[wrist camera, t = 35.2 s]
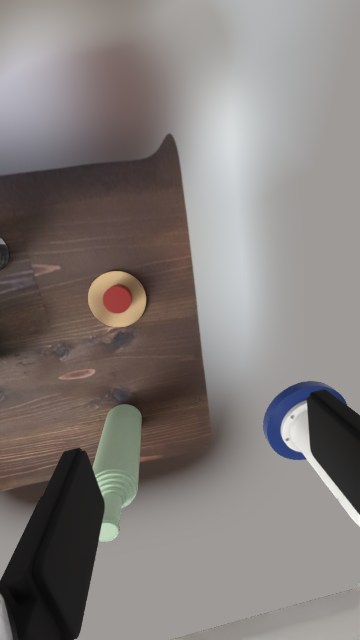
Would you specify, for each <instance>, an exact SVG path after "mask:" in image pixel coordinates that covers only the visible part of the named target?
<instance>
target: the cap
mask: <svg viewBox="0 0 360 640" xmlns="http://www.w3.org/2000/svg"><path fill="white" fill-rule="evenodd" d="M131 302H132V293H131V291H130V290H129V288H127V287H126V286H124V285H121V284H117V285H113V286H111V287H110V288H109V289H108V290H106V292H105V293H104V295H103V304H104V306H105V308H106V309H107V310H108V311H110V312H112V313H116V314H119V313H123V312H125V311H126V310H127V309H128V308H129V307H130V304H131Z"/></svg>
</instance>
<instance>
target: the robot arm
mask: <svg viewBox="0 0 360 640" xmlns="http://www.w3.org/2000/svg"><path fill="white" fill-rule="evenodd" d="M281 436H282V439H283V441H284V442H285V443H286V445H287V446H288V447H289V448H291V449H292V450H294V451H298V452H302V454H303V455H304V456H305V458H306V459H307V460H308V461H309V463H310V464H311V465H312V467H313V468H314V469H315V471H316V472H317V473H318V475H319V476H320V477H321V479H322V480H323V481H324V483H325V484H326V485H327V486H328V488H329V489H330V491H331V492H332V493H333V494H334V496H335V497H336V498H337V500H338V501H339V502H340V504H341V505H342V506H343V508H344V509H345V510H346V512H347V513H348V514H349V516H350V517H351V518H352V519H353V520H354V522H355V523H356V524H357V525H358V526H359V527H360V415H359V414H357V413H356V412H355V411H353V410H352V409H351V408H349V407H348V406H347V405H346V404H344V403H343V402H342V401H340V400H339V399H338V398H336V397H335V396H334V395H333V394H331V393H330V392H329V391H327V390H326V389H323V390H318V391H314V392H311V393H310V396H309V397H307V400H305V401H302V402H300V403H298V404H297V405H295V406H294V407H292V408H291V409H290V410H289V411H288V412H287V414H286V415H285V417H284V418H283V421H282V423H281ZM104 511H105V502H104V498H103V496H102V493H101V490H100V488H99V485H98V482H97V480H96V477H95V474H94V471H93V469H92V466H91V463H90V461H89V458H88V455H87V453H86V451H82V450H81V449H80V448H77V449H72V450H68V451H65V452H64V453H63V454H62V456H61V458H60V461H59V463H58V465H57V467H56V469H55V471H54V473H53V475H52V477H51V480H50V482H49V484H48V486H47V488H46V490H45V492H44V495H43V496H42V497H41V498H40V500H39V501H38V504H37V506H36V508H35V510H34V512H33V514H32V516H31V518H30V520H29V522H28V524H27V526H26V528H25V531H24V533H23V535H22V537H21V539H20V541H19V543H18V545H17V547H16V549H15V551H14V553H13V555H12V558H11V560H10V562H9V564H8V566H7V568H6V570H5V573H4V574H3V576H2V578H1V580H0V640H74V639H77V637H78V636H79V633H80V630H81V626H82V621H83V615H84V610H85V606H86V600H87V596H88V591H89V586H90V580H91V576H92V570H93V566H94V561H95V555H96V551H97V546H98V541H99V536H100V531H101V526H102V521H103V516H104ZM173 640H360V583H359V584H358V585H357V586H356V587H355V588H354V589H351V590H348V591H344V592H340V593H336V594H333V595H329V596H325V597H322V598H318V599H314V600H311V601H307V602H303V603H300V604H296V605H293V606H289V607H286V608H282V609H278V610H275V611H271V612H268V613H264V614H260V615H257V616H253V617H250V618H246V619H243V620H239V621H236V622H232V623H228V624H225V625H221V626H218V627H214V628H211V629H208V630H204V631H200V632H197V633H193V634H190V635H186V636H183V637H179V638H176V639H173Z"/></svg>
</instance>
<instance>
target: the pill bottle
mask: <svg viewBox="0 0 360 640" xmlns="http://www.w3.org/2000/svg"><path fill="white" fill-rule="evenodd" d="M8 258H9V251H8V248H7V245H6V244H5V242H4V241H3V240H2V238H0V270H1V269H3V268H4V267H5V265H6V264H7V262H8Z"/></svg>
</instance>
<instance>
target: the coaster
mask: <svg viewBox="0 0 360 640" xmlns="http://www.w3.org/2000/svg"><path fill="white" fill-rule="evenodd" d="M117 284H121V285H124V286H126V287H127V288H129V290H130V291H131V293H132V302H131V304H130V307H129V308H128V309H127V310H126V311H125V312H123V313H119V314H116V313H112V312H110V311H108V310H107V309H106V308H105V306H104V304H103V295H104V293H105V292H106V290H108V289H109V288H110V287H111V286H113V285H117ZM88 302H89V306H90V309H91V311H92V313H93V314H94V316H95V317H96V318H97V319H98V320H100V321H101V322H102V323H104V324H106V325H109V326H113V327H125V326H128V325H131V324H133V323H134V322H136V321H137V320H138V319H139V318H140V317H141V315H142V314H143V312H144V310H145V306H146V293H145V290H144V288H143V286H142V284H141V283H140V282H139V281H138V280H137V279H136V278H135V277H134V276H132V275H130V274H128V273H126V272H122V271H111V272H107V273H104V274H102V275H101V276H99V277H98V278H97V279H96V280H95V281H94V282H93V283H92V285H91V287H90V290H89V294H88Z"/></svg>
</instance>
